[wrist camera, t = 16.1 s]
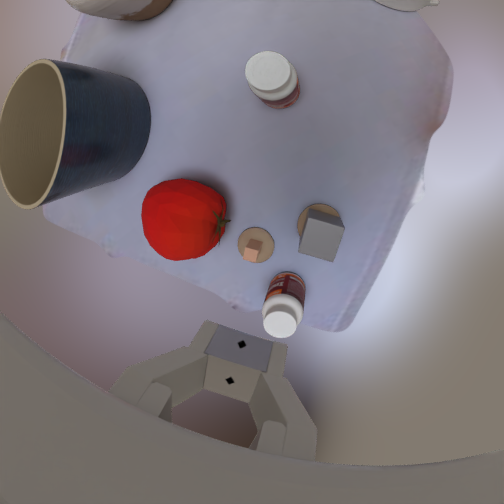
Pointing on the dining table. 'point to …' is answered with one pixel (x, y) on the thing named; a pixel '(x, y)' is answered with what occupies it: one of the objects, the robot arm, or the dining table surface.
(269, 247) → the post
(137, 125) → the planter
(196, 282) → the dining table surface
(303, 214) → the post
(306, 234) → the charcoal tapered box
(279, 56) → the pill bottle
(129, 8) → the vase
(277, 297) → the pill bottle
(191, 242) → the tomato
